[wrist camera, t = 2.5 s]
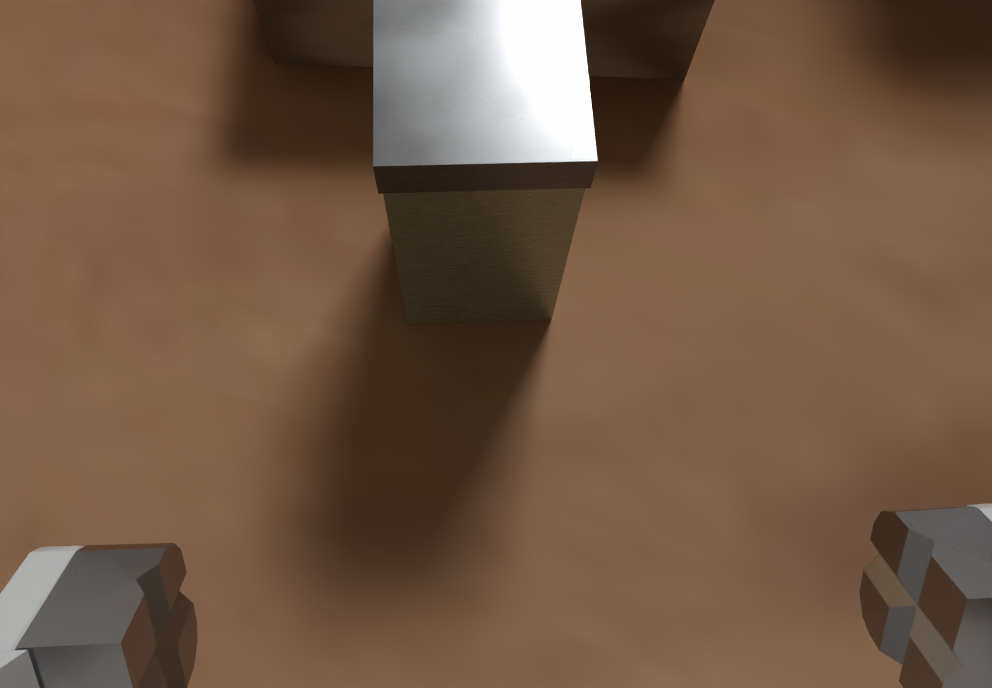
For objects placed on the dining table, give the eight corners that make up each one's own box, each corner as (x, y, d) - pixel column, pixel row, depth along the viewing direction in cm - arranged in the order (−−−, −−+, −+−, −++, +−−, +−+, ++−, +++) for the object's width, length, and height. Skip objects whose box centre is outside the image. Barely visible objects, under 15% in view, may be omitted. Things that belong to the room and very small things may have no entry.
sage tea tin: (403, 327, 28) (373, 166, 19) (402, 195, 30) (373, -12, 21) (554, 322, 29) (597, 160, 19) (544, 191, 30) (578, -15, 21)
